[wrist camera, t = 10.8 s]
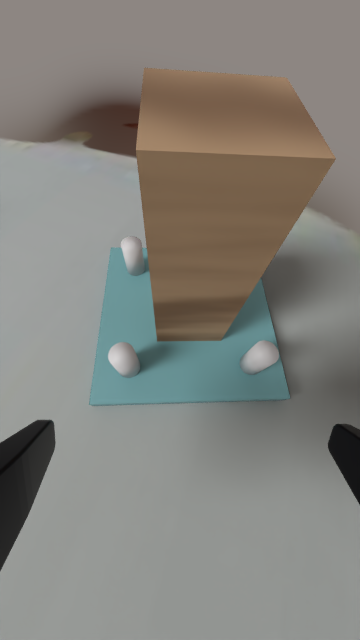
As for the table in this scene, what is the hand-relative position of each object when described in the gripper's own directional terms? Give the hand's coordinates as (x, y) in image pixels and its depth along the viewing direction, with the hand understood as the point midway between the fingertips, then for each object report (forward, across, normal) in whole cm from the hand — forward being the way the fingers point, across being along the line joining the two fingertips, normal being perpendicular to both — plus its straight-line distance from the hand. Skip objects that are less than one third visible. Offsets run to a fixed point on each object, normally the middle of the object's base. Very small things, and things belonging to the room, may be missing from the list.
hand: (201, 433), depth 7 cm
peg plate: (+13, -1, 0) cm, 13 cm away
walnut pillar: (+12, -1, -1) cm, 12 cm away
